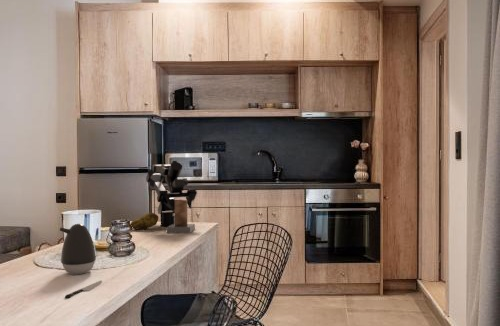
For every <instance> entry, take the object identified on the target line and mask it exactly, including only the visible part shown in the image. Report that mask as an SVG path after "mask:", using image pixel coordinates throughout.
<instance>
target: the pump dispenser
mask: <svg viewBox="0 0 500 326" xmlns="http://www.w3.org/2000/svg"><path fill="white" fill-rule="evenodd" d="M59 231H60V232H63V233H65V238H64V240H63V244H62V248H61V258H60V263H61V264H62V267H63V269H64V270H65V272H67V273H68V274H71V275H83V274H86V273H89V272H90V271H91V270H92V269H93V267H94V265H95V262H96V259H97V257H96V256H97V255H96V249H95V243H94V241H93V238H92V235H91V234H90V232H89V229H88V228H87V227H86V225H84V224H83V223H82V224H81V223H76V224H72V225H71V227H70V228H67V227H61V226H60V227H59Z"/></svg>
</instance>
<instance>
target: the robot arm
mask: <svg viewBox="0 0 500 326" xmlns="http://www.w3.org/2000/svg"><path fill="white" fill-rule="evenodd" d="M182 169H183V165H182V164H181V163H180V162H178V161H177V160H172V161H171V164H153V165H152V167H151V168H150V170H148V171H147V173H146V177H145V181H146V183H147V184H148V185H149V186H150V187H152V188H153V189H154V191H155V192H156V194H157V197H156V200H157V202H158V203H159V204H158V207H157V213H158V214H159V215H160V225H159V227H168V226H170V225H172V224H175V200H176V199H177V198H185V200H187V207H188V209H192V202H193V201H195V199H196V196H197V194H198V191H197V189H196V188H189V189H188V188H187V191H186V192H183V191H184V190H185V189H184V187H186V186H188V185H189V182H188V179H187V178H182V179H181V178H180V175H181V172H182ZM164 177H165V184H166V185H167V188H168V190H166V188H165V186H164V184H163V181H164ZM179 178H180V179H179ZM158 214H157V215H158Z"/></svg>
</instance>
